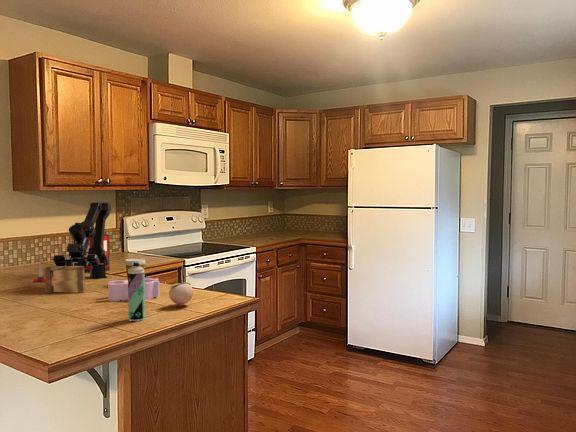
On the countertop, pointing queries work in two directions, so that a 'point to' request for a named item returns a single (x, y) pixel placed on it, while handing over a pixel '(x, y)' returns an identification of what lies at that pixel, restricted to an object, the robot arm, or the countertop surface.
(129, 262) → the disposable coffee cup
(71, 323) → the countertop surface
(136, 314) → the spray can
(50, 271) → the frame
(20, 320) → the countertop surface
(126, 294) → the clip
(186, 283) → the decorative fruit
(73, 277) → the door
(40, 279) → the tow hook
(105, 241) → the cleaning product box
